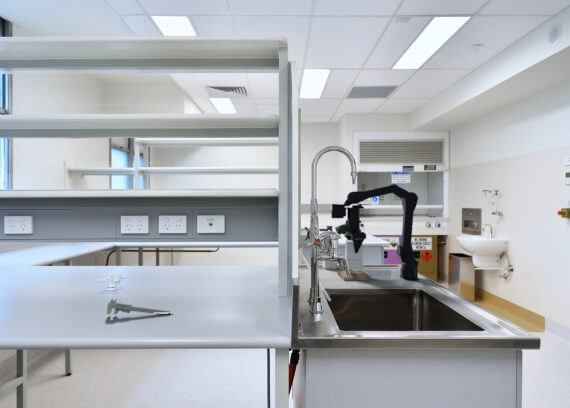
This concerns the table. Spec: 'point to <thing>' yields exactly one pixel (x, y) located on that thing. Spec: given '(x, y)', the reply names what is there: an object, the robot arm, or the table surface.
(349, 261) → the supplement box
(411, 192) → the robot arm
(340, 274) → the walnut coaster
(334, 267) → the soap dispenser
